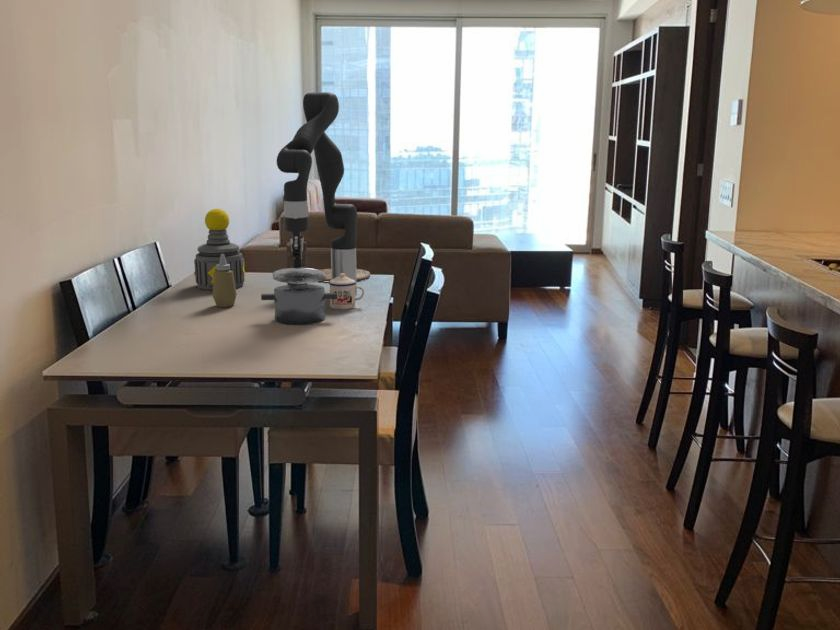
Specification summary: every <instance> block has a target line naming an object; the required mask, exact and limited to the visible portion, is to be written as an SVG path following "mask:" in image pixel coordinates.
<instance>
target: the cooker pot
mask: <svg viewBox="0 0 840 630" xmlns="http://www.w3.org/2000/svg"><path fill="white" fill-rule="evenodd" d="M260 299H261V301H273V302H274V321H275V322H276V323H278V324H280V325H281V324H282V325H288V326H304V325H305V326H307V325H314V323H315V324H318V323H322V322H323V321H326V300H330V299H337V293H330V292H325V287H324V286H322V285H318V284H313V283H307V284H291V285H287V284H285V285H280V286H276V287H275V288H273V293H261V295H260Z"/></svg>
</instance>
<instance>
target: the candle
mask: <svg viewBox="0 0 840 630" xmlns="http://www.w3.org/2000/svg"><path fill="white" fill-rule="evenodd" d="M307 246H308V245H307V241H303V251H302V258H301V262H302V268H308V266H307V265H308V257H307V256H308V255H307V254H308V253H307V252H308V251H307ZM286 268H294V258H293V252H292V248H291V242H290V241H289V242H288V241H287V243H286ZM291 284H295V283H286V285H291ZM304 284H308V283H304Z"/></svg>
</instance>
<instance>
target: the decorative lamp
mask: <svg viewBox="0 0 840 630" xmlns="http://www.w3.org/2000/svg"><path fill="white" fill-rule="evenodd" d="M229 217H230V216H229V215H228V213H227V212H226V211H225V210H223V209H221V208H213V209H210V210H209V211H207V213H206V215H205V217H204V224H205V226H206V228H207V229H208V234H207V236H206V237H207V240H206V243H203V244H201V245H199V246H198V247H197V252H198V253H196V255H195V258H194V261H193V263H194V272H193V275H194V277H195V283H196V285H197V287H198V288H199V289H201V290H204V291H205V290H206V291H213V278H214V272H215V271H217V270H216V265H217V264H219V262H220V256H221V254H224V255H225V259H226V262H227V264H230V270H231V271H233V274H234V281H235V287H236V289H238V288H241V287H242V286H244V283H245V281H246V280H245V277H246V276H245V275H246V270H245V259H244V257H243V253H242V252H240V245H238V244H236V243H233V242H231V241H230V239H229V235H228V234H227V233H228V232H227V229H228V227H229V224H230V218H229Z"/></svg>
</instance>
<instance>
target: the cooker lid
mask: <svg viewBox="0 0 840 630" xmlns="http://www.w3.org/2000/svg"><path fill="white" fill-rule="evenodd" d="M321 270H322V269H316V268H309V267H307V268H287V267H286V268H285V267H284V268H280V269H278V270H275V271H273V273H272V279H273V280H274V281H277V282H280V283H285V284H287V283H295V284H304V283H307V284H313V283H314V284H315V283H318V282H319V281H322V280H324V279H325V273H324V272H323V271H321ZM319 283H320V282H319Z"/></svg>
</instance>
